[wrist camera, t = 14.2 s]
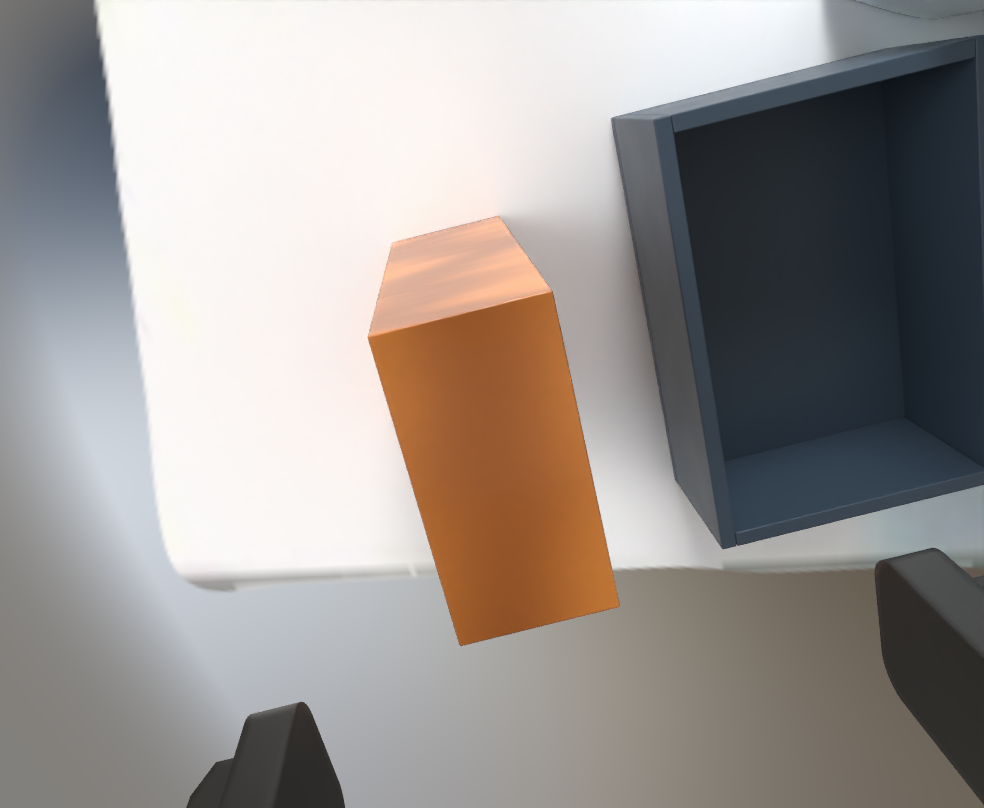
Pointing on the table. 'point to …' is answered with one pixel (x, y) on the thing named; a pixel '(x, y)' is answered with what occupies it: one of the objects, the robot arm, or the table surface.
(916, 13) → the skincare box
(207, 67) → the table surface
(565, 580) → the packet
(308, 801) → the robot arm
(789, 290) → the tote
